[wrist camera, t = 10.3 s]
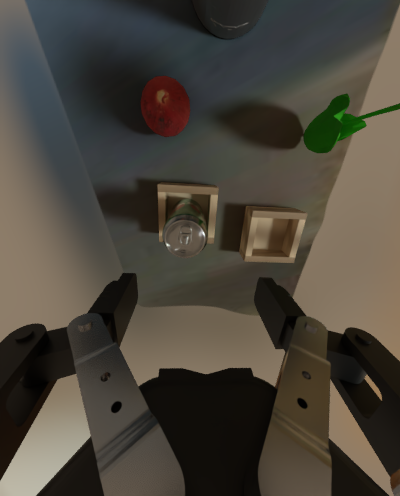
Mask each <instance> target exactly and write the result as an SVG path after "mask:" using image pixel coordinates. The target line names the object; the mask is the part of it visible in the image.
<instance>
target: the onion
mask: <svg viewBox="0 0 400 496" xmlns="http://www.w3.org/2000/svg"><path fill="white" fill-rule="evenodd" d="M141 110H142V115H143V117H144V119H145V121H146V123H147V125H148V126H149V127H150V128H151V129H152V130H153V131H154V132H155V133H156V134H159V135H161V136H164V137H169V136H176V135H177V134H178V133H180V132H181V131H182V130H183V129H184V127H185V126H186V124H187V123H188V119H189V115H190V103H189V97H188V95H187V93H186V91H185V89H184V87H183V86H182V85H181V84H180V83H179V82H178V81H176V80H175V79H173V78H170V77H167V76H158V77H155V78H153V79H152V80H150V81H148V82H147V84H146V86H145V87H144V89H143V91H142V97H141Z"/></svg>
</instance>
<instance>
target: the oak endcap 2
mask: <svg viewBox="0 0 400 496" xmlns="http://www.w3.org/2000/svg"><path fill="white" fill-rule="evenodd" d="M307 214H308V213H305V212H303V211H300V210H298V209H295V208H277V207H257V206H246V210H245V216H244V223H243V230H242V236H241V243H240V249H239V253H240V254H241V256H242V258H243V260H244V261H248V262H283V263H294V259H295V256H296V252H297V249H298V245H299V242H300V238H301V235H302V231H303V228H304V224H305V221H306V217H307Z"/></svg>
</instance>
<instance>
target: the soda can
mask: <svg viewBox="0 0 400 496" xmlns="http://www.w3.org/2000/svg"><path fill="white" fill-rule="evenodd" d="M162 238H163V242H164V244H165V246H166V248H167V249H168V250H169V251H170V252H171V253H172V254H173V255H175V256H177V257H181V258H190V257H193V256H195V255H197V254H198V253H199V252H201V251H202V250H203V249H204V247H205V246H206V244H207V241H208V230H207V226H206V222H205V218H204V214H203V210H202V208H201V206H200V205H199V204H198V203H197V202H196V201H194V200H192V199H182V200H180V201H178V202H177V203H176V204H175V205H174V206H173V208H172V211H171V213H170V215H169V217H168V219H167V221H166V223H165V226H164V228H163V232H162Z"/></svg>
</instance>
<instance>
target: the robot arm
mask: <svg viewBox="0 0 400 496" xmlns="http://www.w3.org/2000/svg"><path fill="white" fill-rule="evenodd" d="M192 2H193V6H194V9H195V11H196V13H197V16H198V18H199V19H200V21H201V22H202V24H203V25H204V27H205V28H206V29H207V30H209V31H210V32H211V33H212V34H214V35H216V36H217V37H220V38H224V39H234V38H237V37H240V36H242V35H244V34H245V33H247V32H249V31H250V30H251V29H252V28H253V27H254V26H255V24H256V23H257V21H258V20H259V18H260V17H261V15H262V13H263V11H264V9H265V7H266V5H267V3H268V0H192ZM137 300H138V289H137V276H136V274H135V273H123V274H122V276H121V277H120V279H119V280H118V281H112V282H111V283H110V284H108V285H107V286H106V287H105V289H104V290H103V292H102V293H101V294H100V296H99V297H98V298H97V300H96V301H95V303H94V304H93V306H92V307H91V308H90V310H89V311H88V313H87V314H83V315H81V316H78V317H77V318H75V319H74V320H72V321H71V322H70V323H69V325H68V327H64V328H60V329H55V330H51V331H47V330H46V328H45V326H44V325H42V324H30V325H26V326H23V327H21V328H19V329H17V330H15V331H13V332H12V333H10V334H9V335H8V336H7V337H6V338H5V339H4V340H3V341H2V342H1V343H0V480H1V479H2V477H3V475H4V473H5V472H6V470H7V468H8V466H9V464H10V463H11V461H12V459H13V457H14V455H15V454H16V452H17V450H18V448H19V447H20V445H21V443H22V441H23V440H24V438H25V436H26V434H27V433H28V431H29V429H30V427H31V425H32V424H33V422H34V420H35V418H36V416H37V415H38V413H39V411H40V409H41V408H42V406H43V404H44V402H45V400H46V399H47V397H48V395H49V393H50V392H51V390H52V388H53V386H54V384H55V383H56V381H57V379H60V378H63V377H66V376H70V375H73V374H77V378H78V382H79V387H80V391H81V395H82V400H83V404H84V408H85V412H86V417H87V421H88V425H89V429H90V434H91V437H90V438H89V439H88V440H87V441H86V442H85V443H84V445H83V446H82V447H81V448H80V449H79V450H78V451H77V452H76V453H75V454H74V455H73V456H72V457H71V459H70V460H69V461H68V462H67V463H66V464H65V465H64V466H63V467H62V468H61V469H60V470H59V472H58V473H57V474H56V475H55V476H54V477H53V478H52V479H51V480H50V481H49V482H48V483H47V485H46V486H45V487H44V488H43V489H42V490H41V491H40V492H39V493H38V494H37V495H36V496H389V495H388V494H387V493H386V492H385V491H384V490H383V489H382V488H381V487H379V486H378V485H377V484H376V483H375V482H374V481H373V480H372V479H371V478H370V477H369V476H368V475H367V474H366V473H365V472H364V471H363V470H362V469H361V468H360V467H359V466H358V465H356V464H355V463H354V462H353V461H352V460H351V459H350V458H349V457H348V456H347V455H346V454H345V453H344V452H343V451H342V450H341V449H340V448H339V447H338V446H337V445H336V444H335V443H333V442H332V441H331V440H330V439H329V438H328V437H329V404H330V379H331V381H332V382H333V384H334V385H335V387H336V389H337V390H338V392H339V394H340V395H341V397H342V399H343V400H344V402H345V404H346V405H347V407H348V409H349V410H350V412H351V413H352V415H353V417H354V418H355V420H356V421H357V423H358V425H359V427H360V428H361V430H362V432H363V433H364V435H365V436H366V438H367V440H368V441H369V443H370V445H371V446H372V448H373V449H374V451H375V453H376V454H377V456H378V458H379V459H380V461H381V463H382V464H383V466H384V467H385V469H386V471H387V472H388V474H389V476H390V484H391V488H392V492H393V494H394V496H400V361H399V360H398V359H397V358H395V356H393V355H392V354H391V353H390V352H389V351H388V350H387V349H386V348H385V347H384V346H383V345H382V344H381V343H380V342H379V341H378V340H377V339H376V338H375V337H374V336H372V335H371V334H369V333H367V332H365V331H363V330H361V329H357V328H347V329H346V330H345V332H344V334H340V333H336V332H332V331H328V330H327V329H326V327H325V326H324V325H323V324H322V323H321V322H319V321H318V320H316V319H314V318H311V317H307V316H306V315H305V314H304V312H303V311H302V310H301V308H300V307H299V306H298V305H297V303H296V302H295V301H294V299H293V298H292V297H291V296H290V294H289V293H288V292H287V290H285V289H284V288H283V287H281V286H280V285H277V284H276V283H275V282H274V280H273V279H272V278H267V277H260V278H259V279H258V282H257V287H256V292H255V296H254V303H255V306H256V308H257V311H258V313H259V315H260V317H261V319H262V321H263V323H264V325H265V327H266V330H267V332H268V334H269V336H270V338H271V340H272V342H273V344H274V347H275V349H284V350H285V355H284V358H283V362H282V365H281V368H280V372H279V375H278V378H277V382H276V385H275V387H274V386H273V385H271V384H269V383H268V382H266V381H264V380H262V379H260V378H257V377H254V376H253V373H252V370H251V368H228V369H225V370H221V371H218V372H214V373H211V374H202V373H198V372H194V371H191V370H186V369H183V368H182V369H181V368H180V369H179V368H176V369H175V368H174V369H173V368H172V369H171V368H170V369H159V376H158V377H156V378H153V379H151V380H148V381H147V382H145V383H143V384H142V385H140V386H139V387H138V385H137V383H136V381H135V379H134V377H133V375H132V373H131V371H130V369H129V367H128V365H127V363H126V361H125V359H124V357H123V354H122V352H121V350H120V348H119V347H120V344H121V342H122V339H123V337H124V334H125V332H126V329H127V326H128V324H129V321H130V319H131V316H132V314H133V311H134V309H135V306H136V304H137ZM366 375H368V376H369V377H370V378H371V380H372V381H373V382H374V383H375V385H376V386H377V387H378V388H379V390H380V392H381V395H382V401H381V400H380V399H379V397H378V396H377V395H376V393H375V392H374V391H373V389H372V388H371V387H370V386H369V384H368V383H367V382H366V380H365V379H364V378H365V376H366Z"/></svg>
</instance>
